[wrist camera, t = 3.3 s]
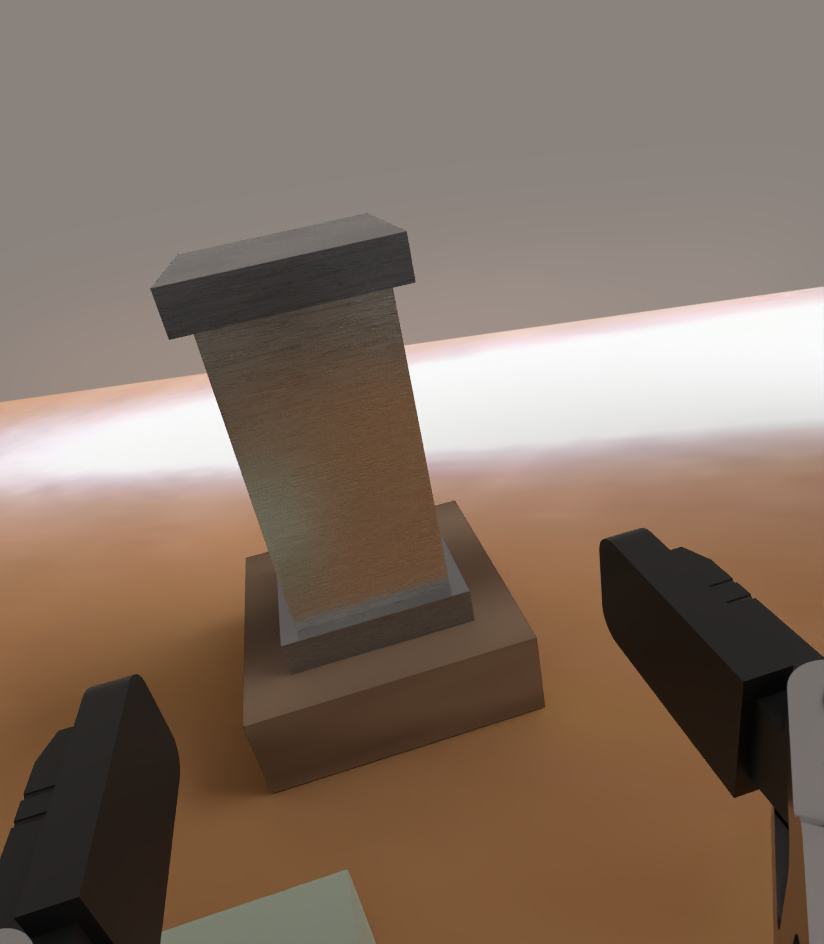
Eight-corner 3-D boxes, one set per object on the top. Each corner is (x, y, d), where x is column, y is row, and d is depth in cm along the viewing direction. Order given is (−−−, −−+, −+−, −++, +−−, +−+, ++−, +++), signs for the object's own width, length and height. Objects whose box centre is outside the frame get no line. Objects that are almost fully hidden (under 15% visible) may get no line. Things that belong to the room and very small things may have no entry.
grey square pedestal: (283, 568, 25) (177, 254, 20) (429, 527, 26) (367, 213, 20) (291, 675, 20) (149, 288, 15) (474, 620, 21) (406, 231, 15)
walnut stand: (266, 614, 28) (245, 557, 26) (464, 557, 29) (454, 500, 28) (272, 793, 20) (242, 727, 19) (545, 706, 21) (536, 637, 20)
